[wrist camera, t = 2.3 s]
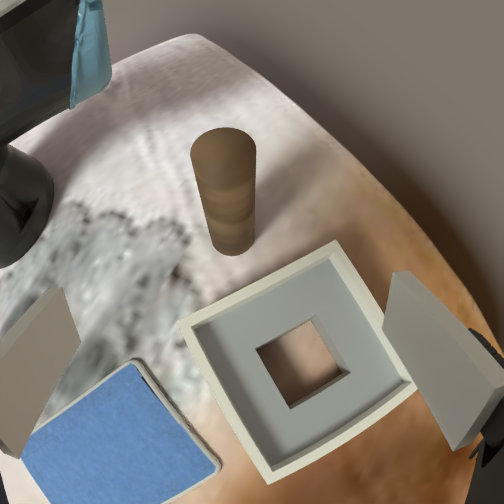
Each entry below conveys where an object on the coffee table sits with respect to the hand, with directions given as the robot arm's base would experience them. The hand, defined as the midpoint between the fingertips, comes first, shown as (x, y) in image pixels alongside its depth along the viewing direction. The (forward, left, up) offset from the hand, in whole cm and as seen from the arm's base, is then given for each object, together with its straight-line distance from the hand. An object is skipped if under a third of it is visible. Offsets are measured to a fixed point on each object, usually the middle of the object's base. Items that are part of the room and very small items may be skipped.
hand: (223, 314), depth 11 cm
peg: (-9, +4, -15) cm, 18 cm away
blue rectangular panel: (+5, -17, -16) cm, 23 cm away
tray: (+4, +4, -15) cm, 16 cm away
